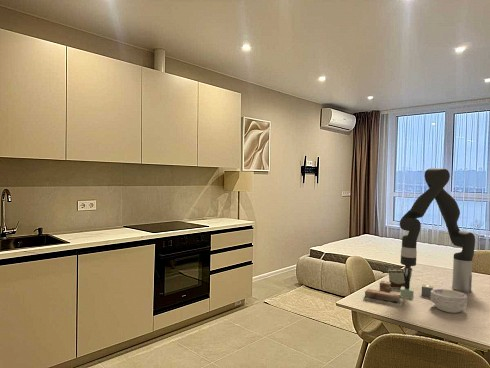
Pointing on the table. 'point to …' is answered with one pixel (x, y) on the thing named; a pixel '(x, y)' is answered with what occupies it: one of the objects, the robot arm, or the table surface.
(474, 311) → the table surface
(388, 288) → the walnut striped block
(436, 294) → the paper bowls
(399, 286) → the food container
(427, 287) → the charcoal striped block
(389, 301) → the packaged product
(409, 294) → the plain sage block
